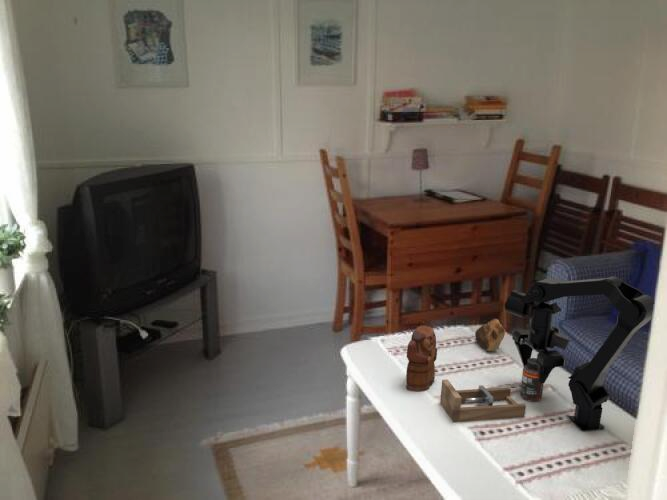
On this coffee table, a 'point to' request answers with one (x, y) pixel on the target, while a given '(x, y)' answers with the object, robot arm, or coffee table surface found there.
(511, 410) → the wooden tray
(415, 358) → the wooden figurine
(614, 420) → the coffee table surface
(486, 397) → the pusher
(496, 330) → the decorative rock
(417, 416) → the coffee table surface
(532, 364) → the supplement bottle
